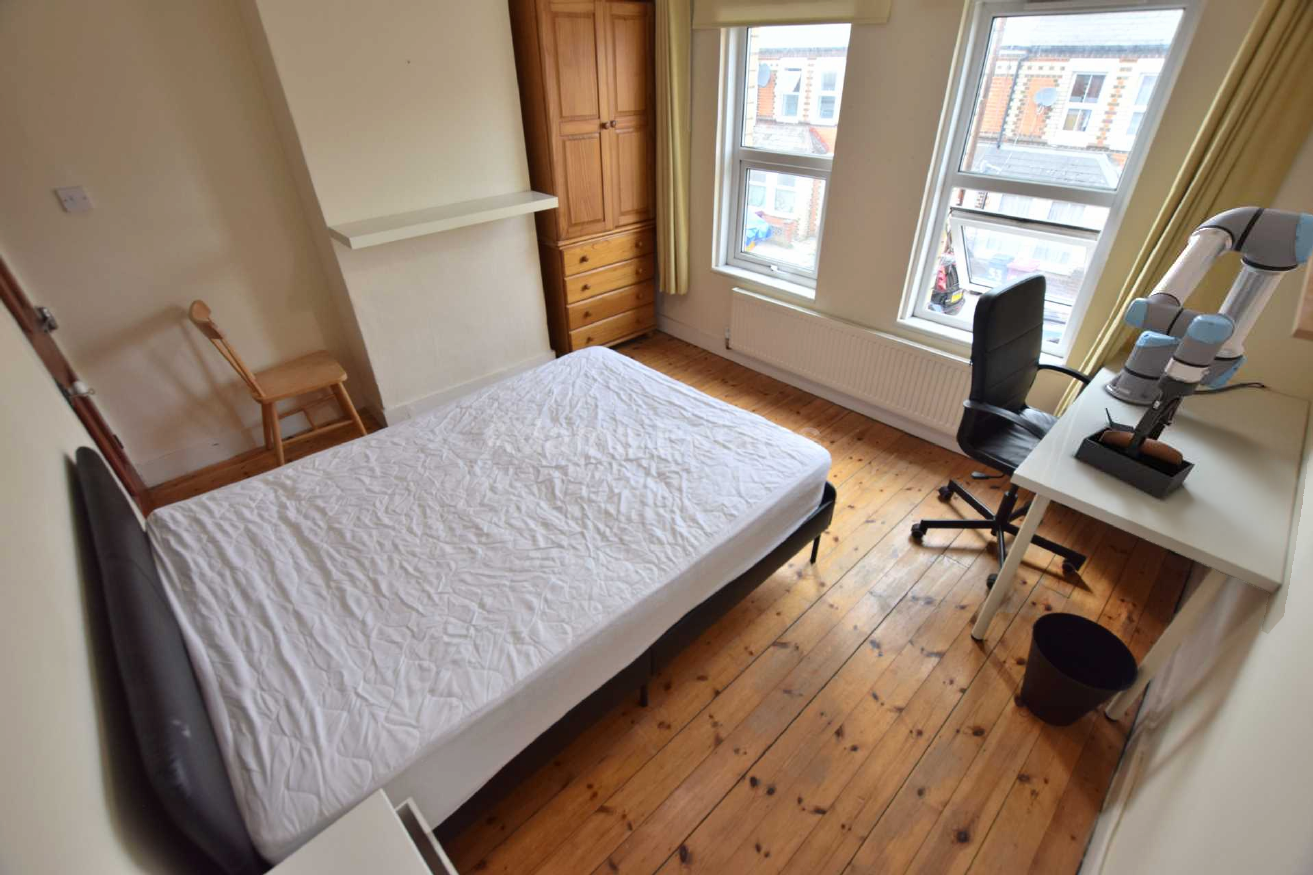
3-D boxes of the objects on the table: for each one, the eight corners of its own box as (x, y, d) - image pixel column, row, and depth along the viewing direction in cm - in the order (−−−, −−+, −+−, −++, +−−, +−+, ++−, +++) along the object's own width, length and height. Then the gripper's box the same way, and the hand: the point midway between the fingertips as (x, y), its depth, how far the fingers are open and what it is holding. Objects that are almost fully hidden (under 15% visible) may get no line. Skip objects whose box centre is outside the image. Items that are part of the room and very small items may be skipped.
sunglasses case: (1181, 453, 157) (1191, 441, 151) (1172, 474, 155) (1183, 462, 149) (1103, 429, 166) (1111, 417, 161) (1094, 448, 164) (1101, 436, 159)
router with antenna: (1148, 442, 172) (1136, 414, 170) (1120, 452, 175) (1107, 424, 173) (1132, 427, 182) (1120, 401, 180) (1106, 437, 185) (1094, 411, 183)
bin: (1097, 444, 173) (1107, 426, 170) (1182, 483, 158) (1195, 464, 154) (1074, 457, 168) (1083, 438, 164) (1160, 499, 152) (1173, 479, 148)
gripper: (1179, 393, 139) (1134, 467, 151) (1217, 372, 149) (1172, 444, 161) (1144, 380, 144) (1104, 453, 157) (1183, 361, 154) (1143, 431, 166)
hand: (1139, 448), depth 159 cm, fingers closed on sunglasses case, 9 cm apart
